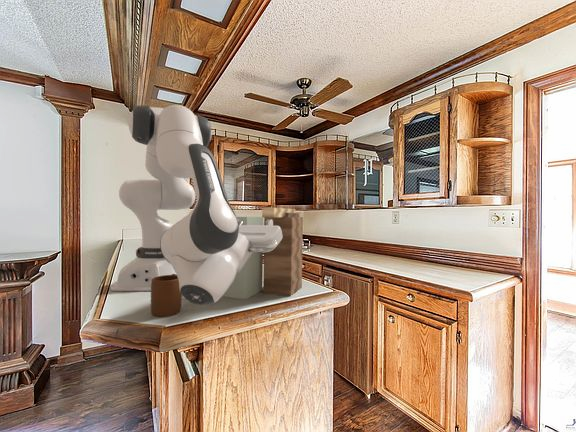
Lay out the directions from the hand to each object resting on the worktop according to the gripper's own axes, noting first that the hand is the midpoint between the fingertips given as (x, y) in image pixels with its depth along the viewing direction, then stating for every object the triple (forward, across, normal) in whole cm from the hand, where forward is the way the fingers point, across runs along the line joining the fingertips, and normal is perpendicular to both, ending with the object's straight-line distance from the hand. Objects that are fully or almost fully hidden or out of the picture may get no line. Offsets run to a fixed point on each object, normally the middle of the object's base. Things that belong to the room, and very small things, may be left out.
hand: (255, 221), depth 80 cm
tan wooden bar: (+16, -1, +8) cm, 17 cm away
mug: (-21, +22, +17) cm, 35 cm away
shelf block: (-1, +11, +28) cm, 30 cm away
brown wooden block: (+6, 0, +32) cm, 33 cm away
